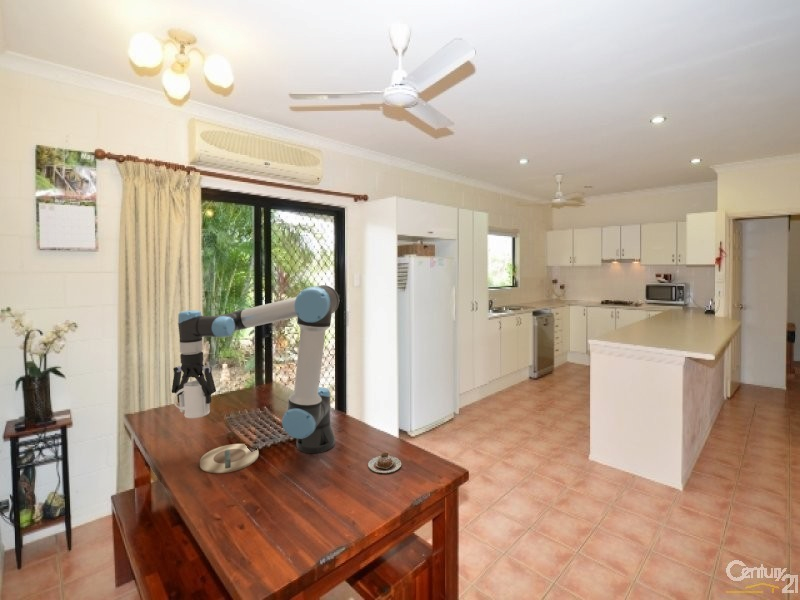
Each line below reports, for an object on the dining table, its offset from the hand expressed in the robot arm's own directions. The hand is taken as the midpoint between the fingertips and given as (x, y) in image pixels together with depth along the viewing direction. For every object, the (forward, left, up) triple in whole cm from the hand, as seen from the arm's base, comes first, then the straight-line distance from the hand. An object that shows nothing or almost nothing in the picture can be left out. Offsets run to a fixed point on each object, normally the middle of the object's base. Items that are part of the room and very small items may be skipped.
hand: (195, 411), depth 148 cm
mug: (+1, 0, -2) cm, 2 cm away
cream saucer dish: (-14, +2, -17) cm, 22 cm away
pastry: (-72, 0, -18) cm, 74 cm away
